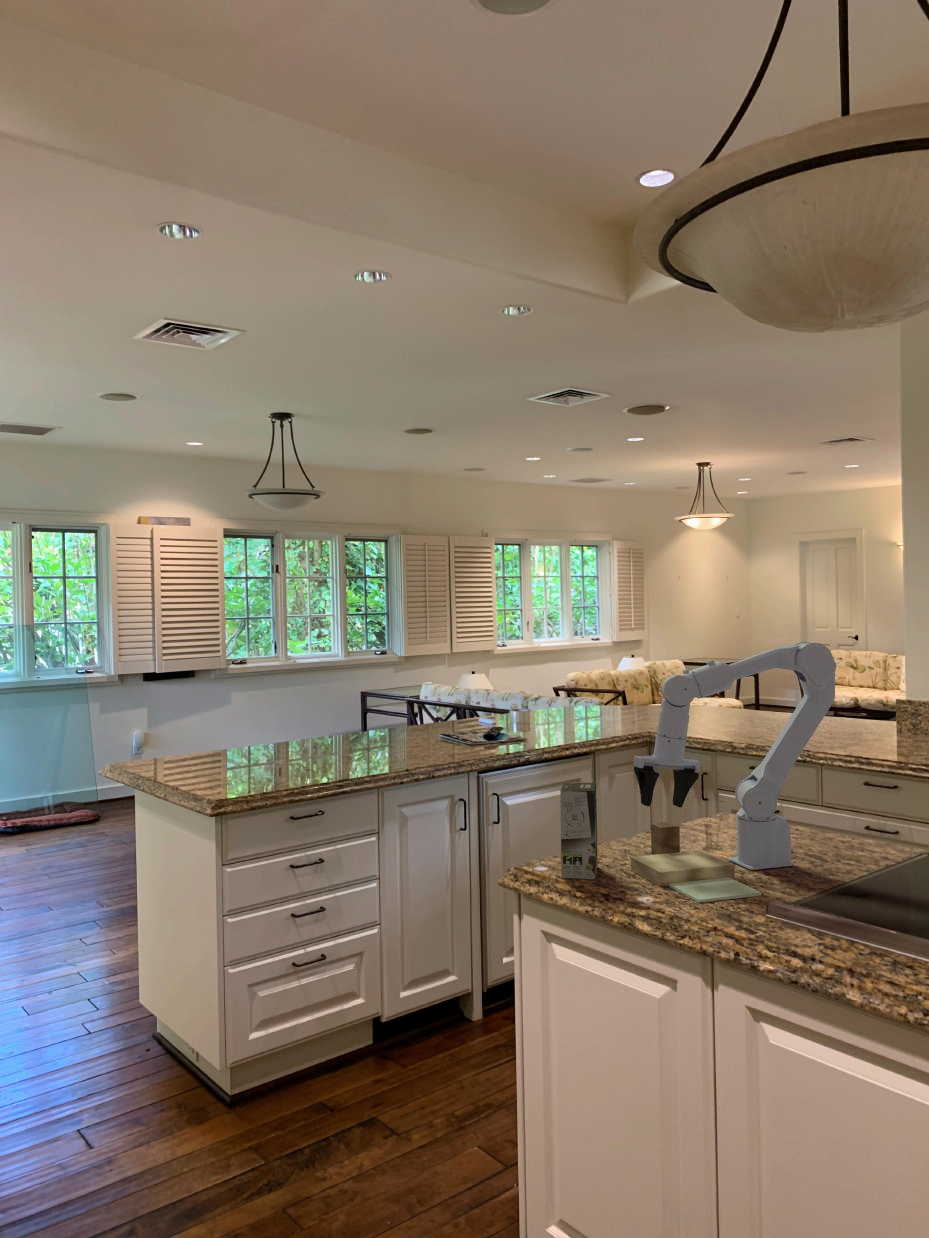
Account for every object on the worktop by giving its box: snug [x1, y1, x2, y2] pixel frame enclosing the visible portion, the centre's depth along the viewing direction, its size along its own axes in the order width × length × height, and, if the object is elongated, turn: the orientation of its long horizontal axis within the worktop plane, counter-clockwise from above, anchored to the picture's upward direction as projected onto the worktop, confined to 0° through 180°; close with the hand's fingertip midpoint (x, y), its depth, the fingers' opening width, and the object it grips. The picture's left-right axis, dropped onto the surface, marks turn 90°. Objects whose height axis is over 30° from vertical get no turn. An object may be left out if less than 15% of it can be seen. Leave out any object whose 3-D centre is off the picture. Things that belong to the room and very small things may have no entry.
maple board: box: [630, 849, 736, 888], centre depth 162 cm, size 15×11×2 cm
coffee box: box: [559, 782, 599, 881], centre depth 165 cm, size 9×6×16 cm
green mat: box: [668, 877, 762, 904], centre depth 152 cm, size 12×10×1 cm
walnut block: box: [650, 821, 681, 855], centre depth 172 cm, size 4×4×7 cm
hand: (661, 805), depth 171 cm, fingers open, 7 cm apart
